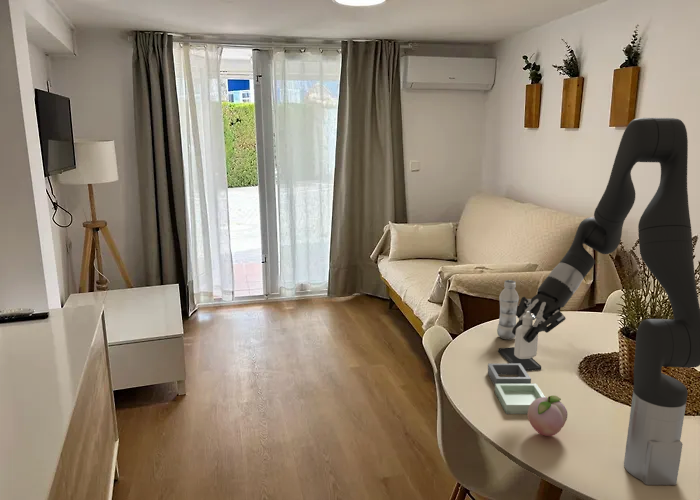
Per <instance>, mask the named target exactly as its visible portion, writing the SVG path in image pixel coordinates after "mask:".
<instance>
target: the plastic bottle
mask: <svg viewBox="0 0 700 500" xmlns="http://www.w3.org/2000/svg"><path fill="white" fill-rule="evenodd" d="M516 284H517V282H516V281H515V280H511V279H507V280H504V284H503V287H504V288H503V289H502V291H500V293H499V297H498V298H499V320H498V325H497V329H496V332H497V335H498V337H499V338H501V339H503V340H508V341H509V340H513V339H514V340H515V335H514V334H513V333H512V331H513V328H514V326H515V325H516V324H517V316H516V312H517V310H518V306H519V305H518V304H519V300H520V296H519V294H518V291H517V290H516V288H517V286H516Z"/></svg>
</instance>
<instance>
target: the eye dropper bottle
mask: <svg viewBox="0 0 700 500" xmlns="http://www.w3.org/2000/svg"><path fill="white" fill-rule="evenodd" d="M533 321H534V320H533V317H532V316H530V312H529V311H527V313H526V315H524V316H523V321H522V325H520V326H519V327H517V329H516V333H515V338H514V347H515V348H514V355H515V356H516V357H517V358H519V359H529V358H533V359H534V357H536V356H537V354H538V353H537V352H538V340H539V333H538V334H537V336H536V337H535V338H534V340H533V341H531V342H530V343H528V342H526V341H525V340H524V338H523V337H524V335H525V334H526V333H527V332H528V330H529V329H530V328H531V326H533V325H534V322H533ZM533 327H534V326H533Z"/></svg>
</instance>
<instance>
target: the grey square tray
mask: <svg viewBox="0 0 700 500" xmlns="http://www.w3.org/2000/svg"><path fill="white" fill-rule="evenodd" d="M487 374H488V376H489V378H490V380H491V382H492V384H493V386H494V387H495V384H532V383H531V382H532V378H531V376H530V375H529V374H528V371H525V369H524V368H523V366H522V365H521V363H509V362H508V363H488V364H487ZM499 375H500V376H499ZM501 375H502V376H501ZM503 375H505V376H503ZM506 375H510V376H506ZM511 375H517V376H511Z"/></svg>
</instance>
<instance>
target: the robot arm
mask: <svg viewBox="0 0 700 500" xmlns="http://www.w3.org/2000/svg"><path fill="white" fill-rule="evenodd" d="M686 127H687V126H686V124H685V123H684V121H682V120H681V119H679V118H674V117H673V118H672V117H638V118H634V119H632V120H631V121H630V122H629V123H628V124H627V126H626V128H625V130H624V132H623V134H622V136H621V138H620V142H619V145H618V147H617V148H618V149H617V152H616V154H615V158H614V162H613V164H612V169H611V172H610V175H609V179H608V182H607V184H606V188H605V190H604V192H603V194H602V196H601V198H600V200H599V201H598V204H597V206H596V207H595V209H594V213H593V217H591V216H590V217H587V218H585V219H583V220H581V222H580V223H579V225H578V227H577V229H576V232H575V235H574V238H573V240H572V243H571V245H570V247H569V248H568V251H567V252H566V253H565V255H564V256H563V257H562V259H561V260H560V261H559V262H558V264H556V265H555V267H553V269H552V270H551V271H550V273H549V274H548V275H547V277H546V278H545V279H544V281H542V283H541V284H540V286H539V287H538V288H537V293H536V294H535V295H534V296H532V298H527V297H526V296H523V297H521V299H520V302H519V303H518V304H519V305H518V306H517V312H516V318H518V321H516V325H515V326H514V328H513V331H512V333H513V334H514V335H515V333H516V329H517V327H519V326H520V325H522V321H523V316H524V315H526V313H527V311H529V312H530V316H532V317H533V321H534V322H533V326H534V327H533V326H531V328H530V329H529V330H528V332H527V333H526V334H525V335H524V337H523V338H524V340H525V341H526V342H528V343H530V342H531V341H533V340H534V338H535V337H536V336H537V334H538V335H539V333H541V332H544V333H549V332H550V331H552V330H553V329H554V328H556V327H557V326H559V325H560V324H562V323H563V322H565V320H567V319H566V316H565V315H564V314H563V313H562V311H561V308H563V307H565V306H566V305H567V303H568V302H569V301H570V299H571V298H572V297H573V295H574V294H575V293H576V291H578V289H579V287H580V286H581V284H582V282H583V280H584V279H585V278H586V276H587V275H588V274H589V272H590V271H591V270H592V268H593V267H594V265H595V263H596V262H595V258H594V257H593V256H592V255H591V253H590V252H588V251H587V250H586V248H585V247H584V245H586V246H587V247H589V248H591V249H593V250H595V251H596V252H597V253H600V254H602V255H609V254H611V253H614V252H615V251H616V250H617V248H618V247H619V245H620V243H621V239H622V234H623V225H624V222H625V220H626V218H627V217H628V215H629V214H630V212H631V210H632V208H633V206H634V205H635V201H636V189H635V186H634V183H633V180H632V175H631V174H632V173H631V172H632V170H633V168H634V166H635V165H636V163H659V165H660V179H659V184H658V188H657V190H656V192H655V193H654V195H653V196H652V199H650V201H649V203H648V205H647V206H646V208H645V209H644V211H643V212H642V214H641V216H640V219H639V221H638V227H637V228H638V229H637V230H638V244H639V245H638V246H639V254H640V256H641V259H642V261H643V263H644V264H645V267H647V268H648V270H649V271H650V272H651V274H652V275H653V277H654V278H655V279H656V280H657V282H659V284H660V286H661V287H662V288H663V290H664V291H665V293H666V295H667V297H668V300H669V303H670V306H671V308H672V314H673V319H670V318H646V319H644V320H642V321H641V322H639V323H640V324H639V325H638V327H637V329H636V330H637V331H636V337H635V352H634V364H633V391H632V396H631V397H632V399H631V405H630V413H629V420H628V421H629V422H628V428H627V436H626V443H625V453H624V460H623V466H624V468H625V470H626V471H627V472H628V473H629V474H630V475H631V476H632V477H634V478H636V479H638V480H640V481H641V482H643V484H644V485H647V486H652V485H653V486H657V485H658V486H660V485H661V486H666V485H667V486H668V485H669V486H676V485H677V481H678V475H679V470H680V464H681V463H680V462H681V457H682V452H683V442H682V441H681V439H682V438H681V437H682V432H683V424H684V420H685V412H686V407H687V399H688V394H689V393H688V389H687V386H686V385H685V384H684V383H683V382H681V381H680V380H679V379H676V378H675V377H673V376H670V375H667V374H665V373H662V367H663V368H664V367H666V368H693V369H694V368H697V367H700V304H699V303H700V302H699V297H698V292H697V290H698V289H697V283H696V273H695V264H694V247H693V246H694V244H693V235H692V234H693V233H692V232H693V231H692V225H691V217H690V216H691V215H690V207H689V194H688V153H689V152H688V143H689V141H688V140H689V139H688V132H687V128H686Z"/></svg>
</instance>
